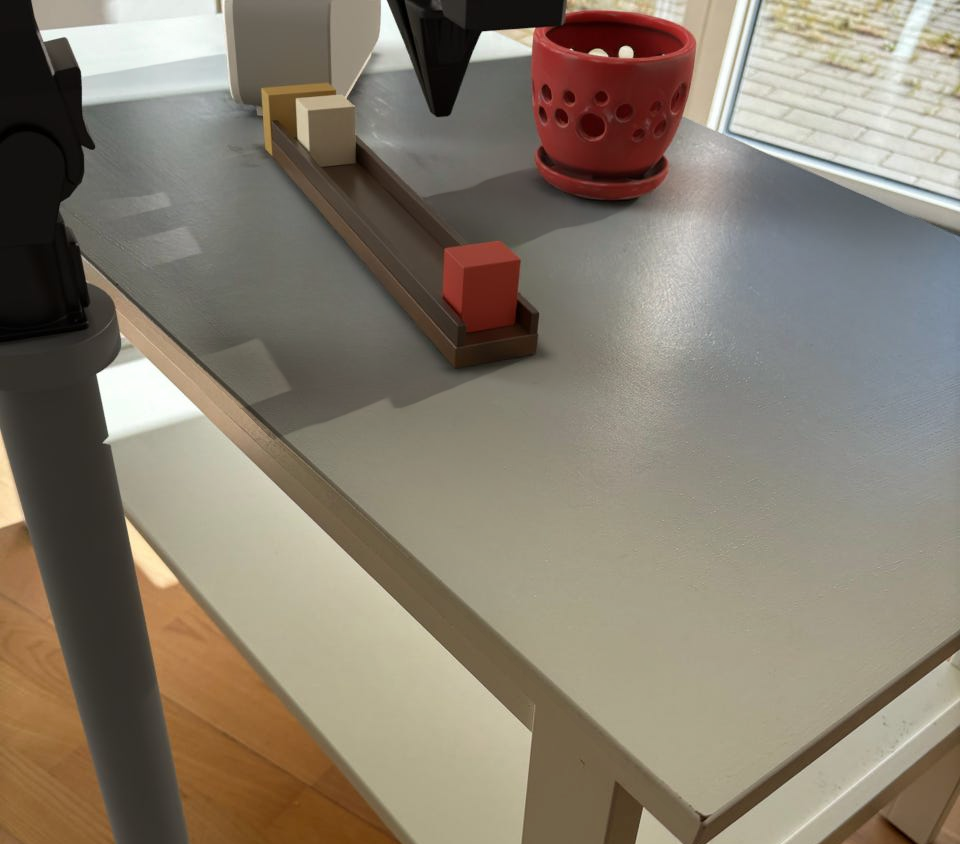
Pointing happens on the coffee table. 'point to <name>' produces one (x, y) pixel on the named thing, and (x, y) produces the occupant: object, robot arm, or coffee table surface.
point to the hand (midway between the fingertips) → (440, 115)
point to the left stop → (287, 106)
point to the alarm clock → (297, 44)
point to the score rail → (401, 247)
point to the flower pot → (609, 101)
